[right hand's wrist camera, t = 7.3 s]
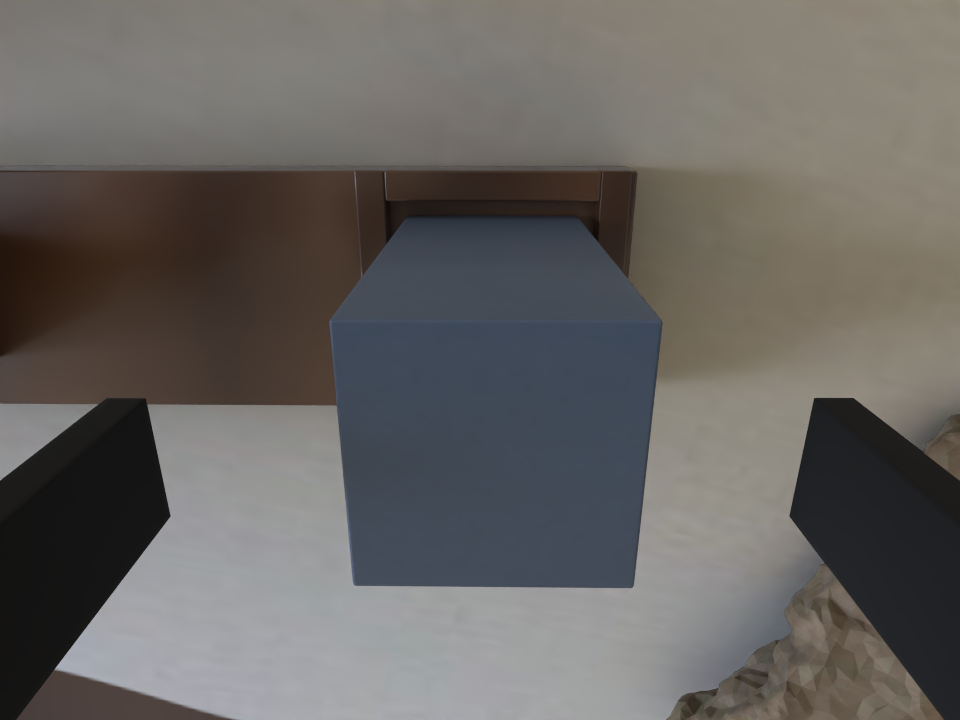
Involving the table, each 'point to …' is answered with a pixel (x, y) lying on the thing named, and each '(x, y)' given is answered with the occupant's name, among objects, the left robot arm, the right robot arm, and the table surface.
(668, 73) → the table surface
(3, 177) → the walnut caddy
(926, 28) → the table surface
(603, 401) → the slate block
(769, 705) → the stone
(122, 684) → the table surface
